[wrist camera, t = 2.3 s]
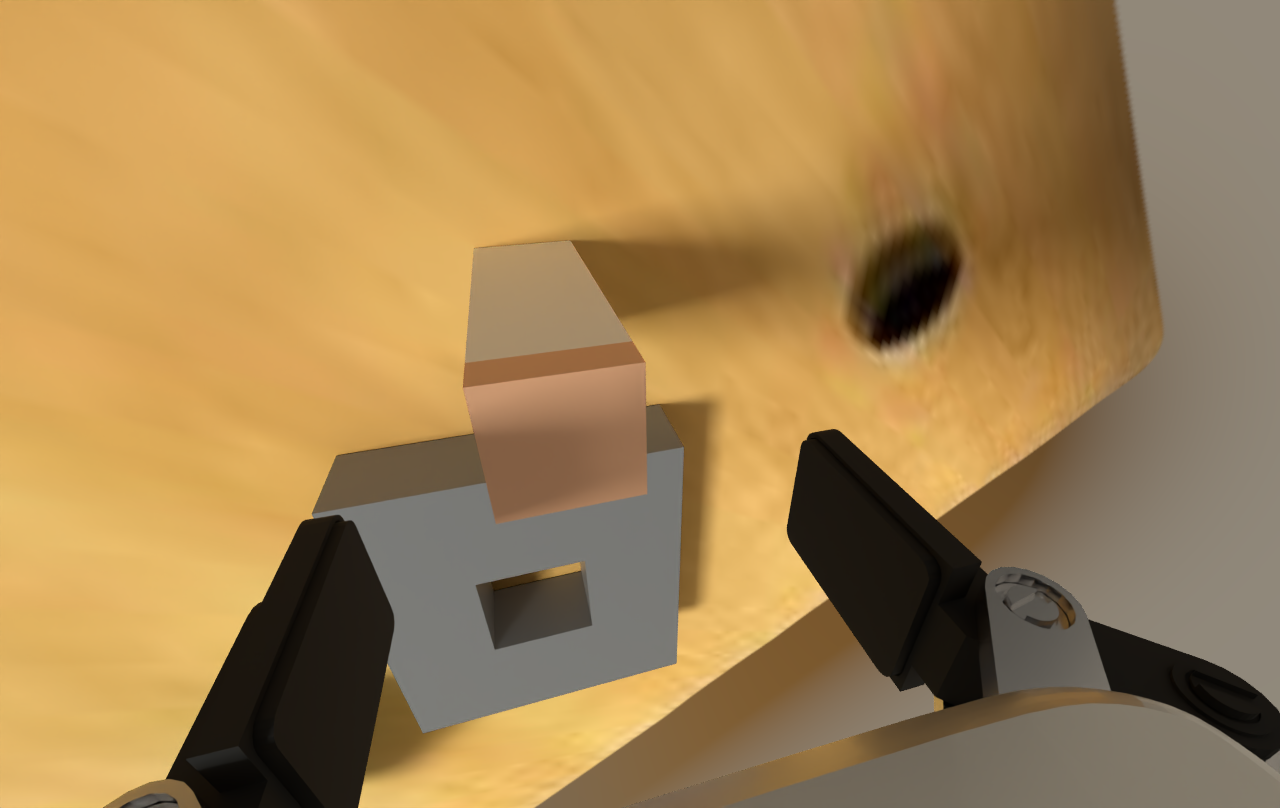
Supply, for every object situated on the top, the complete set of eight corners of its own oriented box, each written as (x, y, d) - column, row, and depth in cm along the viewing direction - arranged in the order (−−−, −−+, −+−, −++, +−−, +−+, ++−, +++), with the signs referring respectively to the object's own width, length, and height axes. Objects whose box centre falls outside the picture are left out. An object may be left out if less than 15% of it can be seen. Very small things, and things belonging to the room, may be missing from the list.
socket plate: (336, 455, 23) (311, 513, 20) (659, 404, 27) (683, 447, 23) (429, 670, 33) (423, 733, 30) (659, 612, 36) (676, 663, 33)
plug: (473, 248, 20) (463, 387, 10) (570, 240, 21) (645, 362, 11) (491, 337, 22) (496, 524, 12) (578, 327, 23) (647, 493, 13)
